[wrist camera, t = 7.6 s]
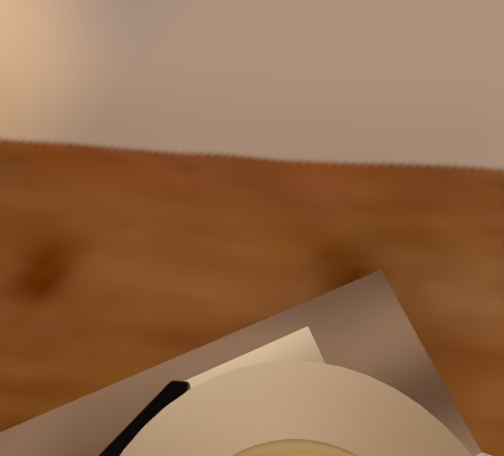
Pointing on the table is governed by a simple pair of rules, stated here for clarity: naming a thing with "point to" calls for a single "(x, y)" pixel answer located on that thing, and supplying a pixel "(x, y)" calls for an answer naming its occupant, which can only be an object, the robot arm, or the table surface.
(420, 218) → the table surface
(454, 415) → the board
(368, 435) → the white tall rounded post
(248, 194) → the table surface
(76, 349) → the table surface
